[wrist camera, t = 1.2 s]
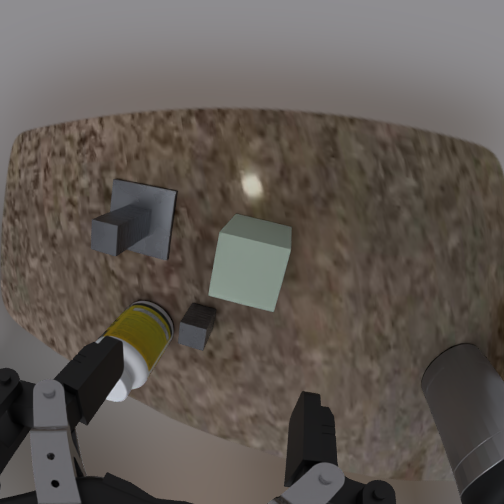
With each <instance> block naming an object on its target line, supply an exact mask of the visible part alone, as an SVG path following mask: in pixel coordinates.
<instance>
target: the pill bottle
mask: <svg viewBox="0 0 504 504" xmlns="http://www.w3.org/2000/svg"><path fill="white" fill-rule="evenodd" d="M173 332H174V329H173V323H172V321H171V319H170V317H169V316H168V314H167V313H166V312H165V311H164V310H163V309H162V308H161V307H159V306H158V305H156V304H154V303H151V302H148V301H138V302H135V303H133V304H131V305H130V306H129V307H128V308H127V309H126V310H125V311H124V312H123V313H122V314H121V315H120V316H119V317H118V318H117V319H116V320H115V321H114V322H113V323H112V324H111V326H110V327H109V328H108V329H107V330H106V331H105V332H104V333H103V334H102V335H101V336H100V337H99V338H98V340H97V341H96V343H99V342H100V341H101V340H102V339H103V338H104V337H105V336H107V335H108V336H110V337H113V338H116V339H118V340H121V341H122V342H123V354H124V371H123V374H122V376H121V378H120V379H119V381H118V382H117V384H116V385H115V386H114V388H113V389H112V391H111V392H110V394H109V395H108V396H107V398H106V399H107V400H111V401H115V402H120V401H123V400H124V399H126V397H127V396H128V394H129V393H130V391H131V389H135V388H138V387H140V386H142V385H143V384H144V383H145V382H146V380H147V379H148V377H149V376H150V374H151V372H152V371H153V369H154V368H155V366H156V364H157V363H158V361H159V359H160V358H161V356H162V354H163V353H164V351H165V350H166V348H167V346H168V345H169V343H170V341H171V339H172V337H173Z"/></svg>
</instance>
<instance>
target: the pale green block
mask: <svg viewBox="0 0 504 504" xmlns="http://www.w3.org/2000/svg"><path fill="white" fill-rule="evenodd" d="M291 234H292V227H290V226H286V225H282V224H278V223H273V222H269V221H265V220H261V219H257V218H253V217H249V216H244V215H240V214H235V215H234V216H233V218H232V219H231V220H230V221H229V222H228V223H227V224H226V225H225V227H224V228H223V229H222V230H221V231H220V233H219V238H218V244H217V249H216V255H215V260H214V266H213V271H212V277H211V283H210V289H209V294H208V295H209V296H213V297H216V298H220V299H224V300H228V301H232V302H235V303H239V304H243V305H247V306H251V307H255V308H259V309H263V310H267V311H271V312H274V309H275V306H276V302H277V299H278V295H279V291H280V288H281V284H282V281H283V277H284V274H285V270H286V266H287V263H288V259H289V255H290V252H291Z"/></svg>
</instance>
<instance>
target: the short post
mask: <svg viewBox="0 0 504 504" xmlns="http://www.w3.org/2000/svg"><path fill="white" fill-rule="evenodd" d="M215 314H216V309H214V308H210V307H206V306H203V305H199V304H196V303H192V304H191V306H190V308H189V309H188V311H187V312H186V314H185V315H184V317H183V319H182V320H181V322H180V329H179V339H178V343H179V344H182V345H186V346H189V347H192V348H196V349H199V350H204V348H205V345H206V343H207V341H208V339H209V336H210V334H211V332H212V330H213V325H214V319H215Z"/></svg>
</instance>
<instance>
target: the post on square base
mask: <svg viewBox="0 0 504 504" xmlns="http://www.w3.org/2000/svg"><path fill="white" fill-rule="evenodd" d="M177 192H178V191H176V190H171V189H166V188H161V187H156V186H151V185H146V184H141V183H136V182H130V181H125V180H120V179H113V189H112V199H111V210H110V212H109V213H106V214H104V215H101V216H99V217H97V218H94V219H92V233H91V249H93V250H96V251H100V252H103V253H106V254H109V255H113V256H117V255H119V254H120V253H122V252H123V251H125V250H126V249H127V250H130V251H134V252H138V253H141V254H145V255H148V256H152V257H156V258H159V259H163V260H168V258H169V249H170V241H171V233H172V226H173V219H174V212H175V205H176V198H177Z"/></svg>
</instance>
